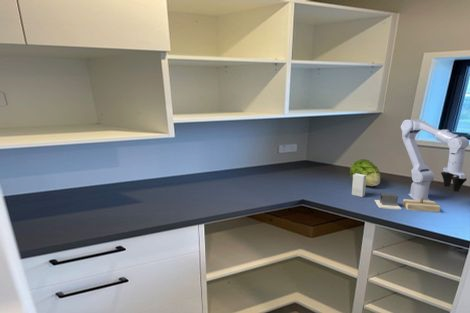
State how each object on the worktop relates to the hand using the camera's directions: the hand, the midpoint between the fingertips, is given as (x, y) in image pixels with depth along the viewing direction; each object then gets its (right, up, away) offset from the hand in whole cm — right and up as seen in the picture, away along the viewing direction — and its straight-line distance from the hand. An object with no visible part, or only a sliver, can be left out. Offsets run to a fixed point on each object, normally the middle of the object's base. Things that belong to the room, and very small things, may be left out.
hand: (451, 188), depth 141 cm
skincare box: (-37, -6, +20) cm, 43 cm away
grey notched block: (-28, -9, +6) cm, 30 cm away
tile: (-28, -9, +7) cm, 30 cm away
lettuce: (-25, -2, +40) cm, 47 cm away
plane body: (-14, -10, +2) cm, 17 cm away
